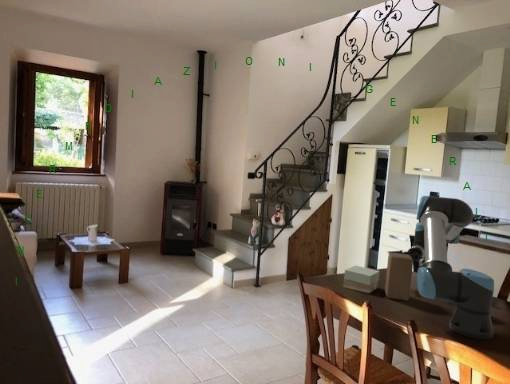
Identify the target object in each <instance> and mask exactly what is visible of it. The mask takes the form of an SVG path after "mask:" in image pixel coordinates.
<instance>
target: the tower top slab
mask: <svg viewBox="0 0 510 384" xmlns="http://www.w3.org/2000/svg"><path fill="white" fill-rule="evenodd" d="M380 274H381V271H380V270H376V269H374V268H373V269H372V268H368V267H363V266H358V265H353V266H351V267H348V268H346V269H344V278H343V280H344V279H347V280H351V281H355V282H359V283H363V284H367V285H371V284H373V283H374V282H376V281H378V282H379V280H380Z"/></svg>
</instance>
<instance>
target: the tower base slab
mask: <svg viewBox="0 0 510 384" xmlns="http://www.w3.org/2000/svg"><path fill="white" fill-rule="evenodd" d="M342 286H343V288H346V289H350V290H354V291H357V292H358V291H359V292H363V293H366V294H370V293H372V292H373V291H375V290H377V289H378V286H379V280H378V281H376V282H374V283H373V284H371V285H367V284H363V283H359V282H355V281H351V280H347V279H344V278H343V285H342Z"/></svg>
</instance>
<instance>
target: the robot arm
mask: <svg viewBox="0 0 510 384" xmlns="http://www.w3.org/2000/svg"><path fill="white" fill-rule="evenodd" d="M473 219H474V211H473V209H472V208H471V206H470V205H469V203H467V202H465V201H464V200H462V199H460V198H459V199H458V198H454V197H441V196H433V195H423V196H421V197H420V199H419V204H418V209H417V214H416V220H418V221H420V222H416V223H415V224H416V225H415V229H414V237H413V238H414V239H413V246H412V247H410V248H408V250H407V251H403V250H395V251H394V250H393V251H389V253H399V254H407V255H410V256H411V258H412V259H413V263H417V262H418V268H417V272H416V285H417V291H418V294H419V295H420V296H421V297H423V298H425V299H430V300H438V301H444V302H449V303H450V302H451V303H456V308H455V310H454V312H453V314H452V315H451V318H450V320H449V323H448V325H449V326H448V327H449V329H450V330H452V331H453V332H455V333H456V334H459V335H461V336H464V337H466V338H472V339H476V340H491V339H493V337H494V326H493V322H492V318H491V314H492V313H491V312H492V305H493V296H494V292H495V280H494V278H493V277H492V276H490V275H488V274H486V273H483V272H481V271H478V270H474V269H470V268H461V269H460V270H461V271H460V272H454V271H453V267H452V265H451V264H450V263H448V252H447V244H451V245H454V244H455V245H457V244H459V242H460V237H461V234H460V233H461V232H462V231H463V230H464V228H466V227H469V225H471V223H472V222H473ZM389 253H388V254H389Z"/></svg>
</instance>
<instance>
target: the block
mask: <svg viewBox="0 0 510 384" xmlns="http://www.w3.org/2000/svg"><path fill="white" fill-rule="evenodd" d="M413 265H414V262H413V259H412V258H411V256H410V255H407V254H399V253H388V258H387V266H386V276H385V285H384V292H385V295H386V298H387V299H390V300H398V301H405V302H407V301H409V300H410V292H411V286H412V285H411V284H412V278H413V277H412V275H413Z"/></svg>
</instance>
